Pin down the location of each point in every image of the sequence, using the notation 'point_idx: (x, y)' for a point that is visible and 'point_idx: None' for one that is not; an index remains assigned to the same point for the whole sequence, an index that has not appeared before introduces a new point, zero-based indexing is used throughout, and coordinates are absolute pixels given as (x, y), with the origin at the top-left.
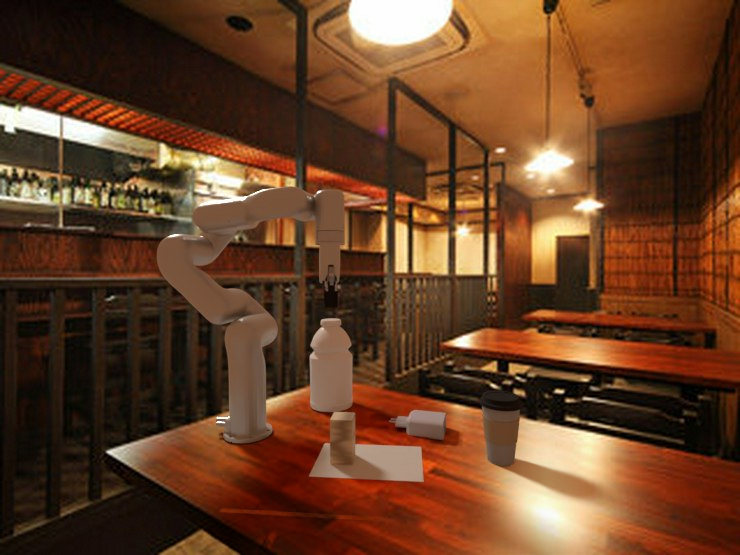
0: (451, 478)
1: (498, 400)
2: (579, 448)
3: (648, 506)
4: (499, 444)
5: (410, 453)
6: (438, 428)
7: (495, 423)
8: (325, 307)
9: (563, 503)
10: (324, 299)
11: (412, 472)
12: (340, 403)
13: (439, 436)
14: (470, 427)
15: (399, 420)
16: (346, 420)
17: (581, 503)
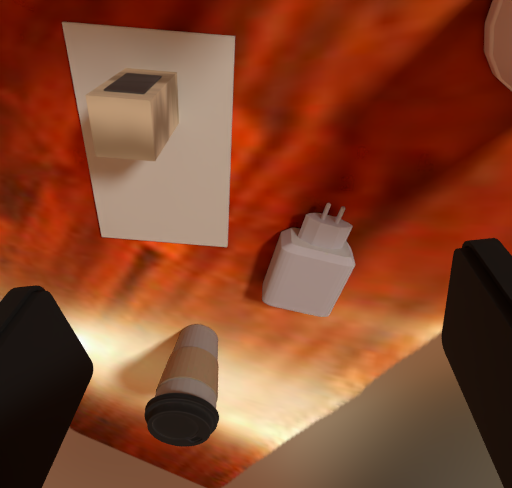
0: (131, 271)
1: (148, 422)
2: (241, 416)
3: (116, 413)
4: (169, 357)
5: (197, 227)
6: (264, 290)
7: (160, 382)
8: (19, 288)
9: (102, 361)
10: (500, 279)
11: (127, 224)
12: (496, 61)
13: (264, 281)
14: (322, 329)
15: (314, 227)
16: (93, 141)
17: (106, 374)
